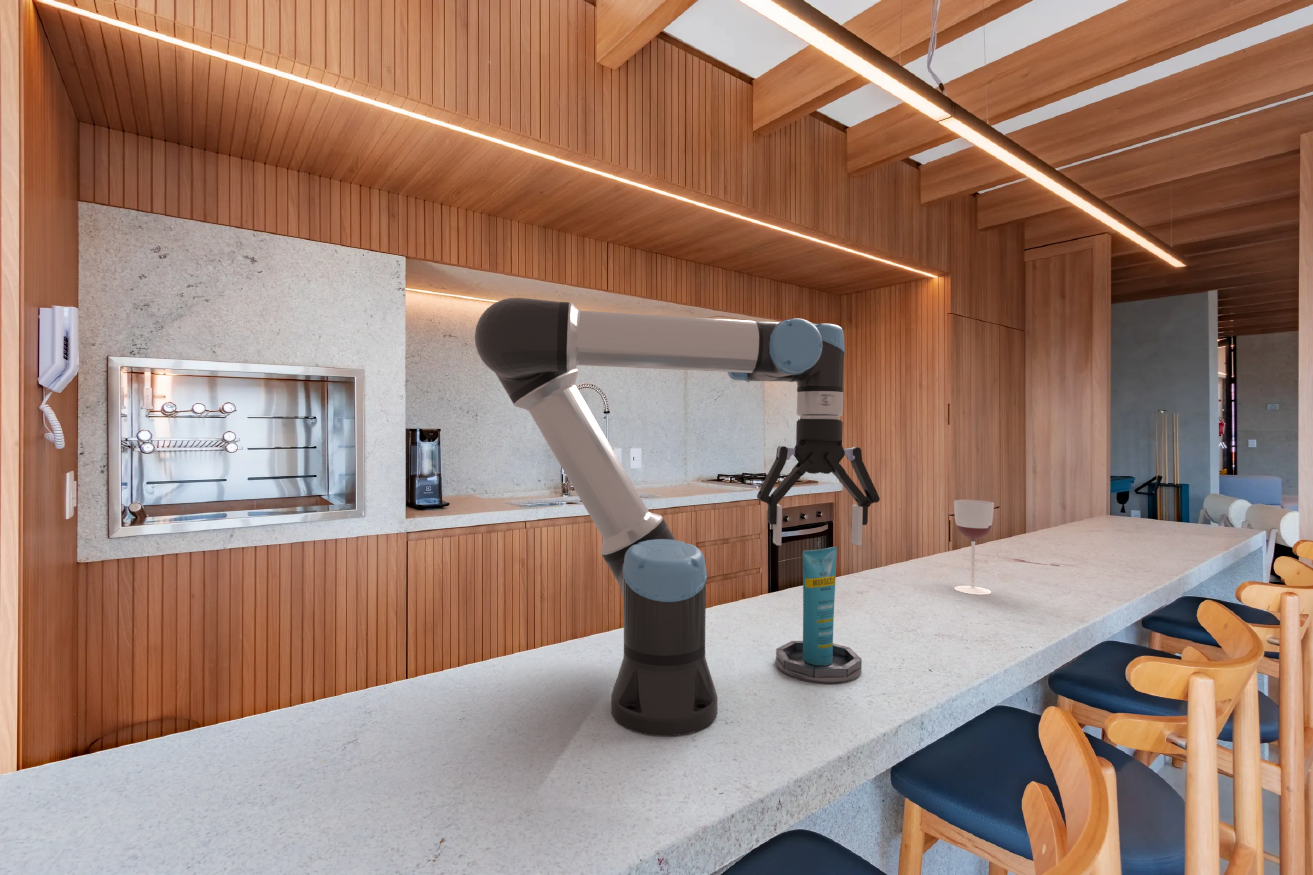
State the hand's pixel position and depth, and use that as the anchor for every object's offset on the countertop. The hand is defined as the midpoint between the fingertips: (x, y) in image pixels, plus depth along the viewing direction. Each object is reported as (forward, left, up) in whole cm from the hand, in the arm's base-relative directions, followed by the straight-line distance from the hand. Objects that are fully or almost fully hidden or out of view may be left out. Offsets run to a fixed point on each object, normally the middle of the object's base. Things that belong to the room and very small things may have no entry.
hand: (817, 544), depth 105 cm
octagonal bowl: (0, 0, -21) cm, 21 cm away
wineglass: (+54, +47, -21) cm, 75 cm away
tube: (0, 0, -20) cm, 20 cm away
